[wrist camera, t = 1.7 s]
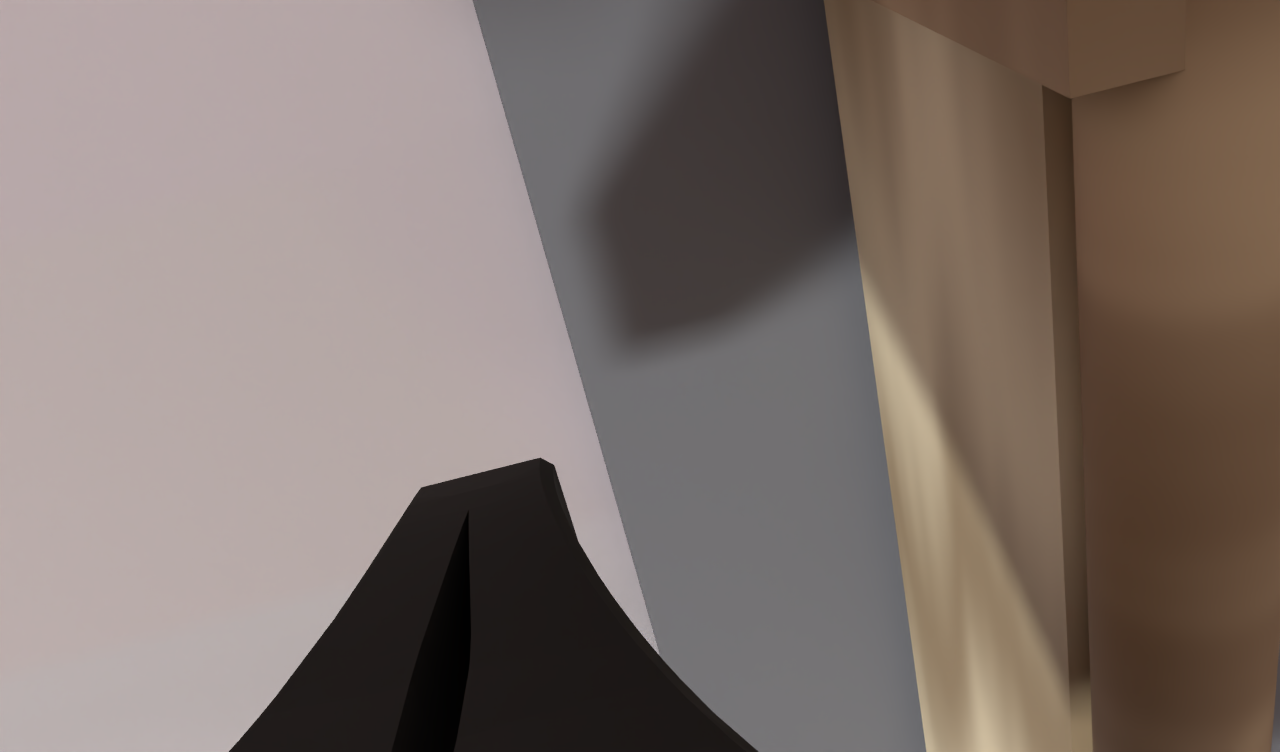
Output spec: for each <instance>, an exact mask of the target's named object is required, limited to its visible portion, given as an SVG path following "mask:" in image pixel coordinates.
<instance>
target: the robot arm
mask: <svg viewBox="0 0 1280 752" xmlns="http://www.w3.org/2000/svg"><path fill="white" fill-rule="evenodd" d="M229 752H758V751H757V750H756V749H755V748H754V747H753V746H752V745H750V744H749V743H748V742H747V741H746V740H745V739H744V738H742V737H741V736H740V735H739V734H738V733H737V732H735V731H734V730H733V729H732V728H731V727H730V726H729V725H727V724H726V723H725V722H724V721H723V720H722V719H721V718H719V717H718V716H717V715H716V714H715V713H714V712H713V711H712V710H711V709H710V708H709V707H708V706H707V705H706V704H705V703H704V702H703V701H702V700H701V699H700V698H699V697H698V696H697V695H696V694H695V693H694V692H693V691H692V690H691V689H690V688H689V687H688V686H687V685H686V684H685V683H684V682H683V681H682V680H681V679H680V678H679V677H678V676H677V675H676V673H675V672H674V671H673V670H672V669H671V668H670V667H669V666H668V665H667V664H666V662H665V661H664V660H663V659H662V658H661V657H660V656H659V655H658V654H657V652H656V651H655V650H654V649H653V648H652V647H651V645H650V644H649V643H648V642H647V641H646V639H645V638H644V637H643V636H642V634H641V633H640V632H639V631H638V629H637V628H636V627H635V626H634V624H633V623H632V622H631V621H630V619H629V618H628V616H627V615H626V614H625V612H624V611H623V610H622V608H621V607H620V606H619V604H618V603H617V602H616V600H615V599H614V598H613V596H612V595H611V593H610V592H609V590H608V589H607V587H606V586H605V584H604V583H603V581H602V580H601V579H600V577H599V576H598V574H597V572H596V571H595V569H594V567H593V566H592V564H591V562H590V561H589V559H588V557H587V556H586V554H585V552H584V550H583V549H582V547H581V545H580V544H579V542H578V540H577V536H576V533H575V530H574V527H573V524H572V520H571V517H570V514H569V511H568V508H567V505H566V501H565V498H564V495H563V492H562V489H561V485H560V482H559V479H558V476H557V473H556V470H555V466H554V465H553V464H551V463H549V462H547V461H545V460H544V459H542V458H537V459H533V460H529V461H525V462H521V463H517V464H513V465H509V466H505V467H501V468H497V469H493V470H489V471H485V472H481V473H477V474H473V475H469V476H465V477H461V478H457V479H453V480H449V481H445V482H442V483H438V484H434V485H430V486H426V487H422V488H421V489H420V490H419V491H418V493H417V494H416V496H415V497H414V499H413V500H412V502H411V503H410V505H409V506H408V508H407V509H406V511H405V512H404V514H403V516H402V517H401V519H400V520H399V522H398V523H397V525H396V526H395V528H394V529H393V531H392V533H391V534H390V536H389V537H388V539H387V540H386V542H385V543H384V545H383V547H382V548H381V550H380V551H379V553H378V554H377V556H376V557H375V559H374V560H373V562H372V564H371V565H370V567H369V568H368V570H367V571H366V573H365V574H364V576H363V577H362V579H361V580H360V582H359V583H358V585H357V586H356V588H355V589H354V591H353V592H352V594H351V595H350V597H349V598H348V600H347V601H346V603H345V604H344V605H343V607H342V608H341V610H340V611H339V613H338V614H337V616H336V617H335V619H334V620H333V622H332V623H331V624H330V626H329V627H328V628H327V630H326V631H325V632H324V633H323V635H322V636H321V637H320V639H319V640H318V641H317V643H316V644H315V645H314V647H313V648H312V649H311V651H310V652H309V653H308V655H307V656H306V657H305V659H304V660H303V661H302V663H301V664H300V665H299V667H298V668H297V669H296V671H295V672H294V673H293V675H292V676H291V677H290V679H289V680H288V681H287V683H286V684H285V685H284V686H283V688H282V689H281V690H280V692H279V693H278V694H277V696H276V697H275V698H274V699H273V701H272V702H271V703H270V704H269V706H268V707H267V708H266V709H265V710H264V712H263V713H262V714H261V715H260V717H259V718H258V719H257V720H256V721H255V722H254V724H253V725H252V726H251V727H250V728H249V729H248V731H247V732H246V733H245V734H244V735H243V736H242V738H241V739H240V740H239V741H238V742H237V743H236V744H235V745H234V747H233V748H232V749H231V750H230V751H229Z"/></svg>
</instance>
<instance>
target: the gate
mask: <svg viewBox="0 0 1280 752" xmlns="http://www.w3.org/2000/svg"><path fill="white" fill-rule="evenodd" d="M824 6H825V13H826V20H827V28H828V35H829V42H830V50H831V57H832V64H833V72H834V79H835V86H836V93H837V101H838V108H839V115H840V123H841V130H842V137H843V145H844V152H845V159H846V167H847V174H848V181H849V189H850V196H851V203H852V211H853V218H854V225H855V233H856V240H857V247H858V254H859V262H860V269H861V276H862V284H863V291H864V298H865V306H866V313H867V320H868V328H869V335H870V342H871V350H872V357H873V364H874V372H875V379H876V386H877V394H878V401H879V408H880V416H881V423H882V430H883V437H884V445H885V452H886V459H887V467H888V474H889V481H890V489H891V496H892V503H893V511H894V518H895V525H896V533H897V540H898V547H899V555H900V562H901V569H902V577H903V584H904V591H905V598H906V606H907V613H908V620H909V628H910V635H911V642H912V650H913V657H914V664H915V672H916V679H917V686H918V694H919V701H920V708H921V716H922V723H923V730H924V738H925V745H926V752H1271V745H1272V732H1273V720H1274V707H1275V694H1276V682H1277V669H1278V657H1279V644H1280V0H824Z"/></svg>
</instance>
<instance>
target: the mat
mask: <svg viewBox="0 0 1280 752" xmlns="http://www.w3.org/2000/svg"><path fill="white" fill-rule="evenodd" d="M473 3H474V7H475V10H476V14H477V17H478V20H479V24H480V27H481V31H482V34H483V38H484V41H485V45H486V48H487V52H488V55H489V59H490V62H491V66H492V69H493V73H494V76H495V80H496V83H497V87H498V90H499V94H500V97H501V101H502V104H503V108H504V111H505V115H506V118H507V122H508V125H509V129H510V132H511V136H512V139H513V143H514V146H515V150H516V153H517V157H518V160H519V164H520V167H521V171H522V174H523V178H524V181H525V185H526V188H527V192H528V195H529V199H530V202H531V206H532V209H533V213H534V216H535V220H536V223H537V227H538V230H539V234H540V237H541V241H542V244H543V248H544V251H545V255H546V258H547V261H548V265H549V268H550V272H551V275H552V279H553V282H554V286H555V289H556V293H557V296H558V300H559V303H560V307H561V310H562V314H563V317H564V321H565V324H566V328H567V331H568V335H569V338H570V342H571V345H572V349H573V352H574V356H575V359H576V363H577V366H578V370H579V373H580V377H581V380H582V384H583V387H584V391H585V394H586V398H587V401H588V405H589V408H590V412H591V415H592V419H593V422H594V426H595V429H596V433H597V436H598V440H599V443H600V447H601V450H602V454H603V457H604V461H605V464H606V468H607V471H608V475H609V478H610V482H611V485H612V489H613V492H614V496H615V499H616V503H617V506H618V509H619V513H620V516H621V520H622V523H623V527H624V530H625V534H626V537H627V541H628V544H629V548H630V551H631V555H632V558H633V562H634V565H635V569H636V572H637V576H638V579H639V583H640V586H641V590H642V593H643V597H644V600H645V604H646V607H647V611H648V614H649V618H650V621H651V625H652V628H653V632H654V635H655V639H656V642H657V646H658V649H659V653H660V656H661V658H662V659H663V660H664V661H665V662H666V664H667V665H668V666H669V667H670V668H671V669H672V670H673V671H674V672H675V673H676V675H677V676H678V677H679V678H680V679H681V680H682V681H683V682H684V683H685V684H686V685H687V686H688V687H689V688H690V689H691V690H692V691H693V692H694V693H695V694H696V695H697V696H698V697H699V698H700V699H701V700H702V701H703V702H704V703H705V704H706V705H707V706H708V707H709V708H710V709H711V710H712V711H713V712H714V713H715V714H716V715H717V716H718V717H719V718H721V719H722V720H723V721H724V722H725V723H726V724H727V725H729V726H730V727H731V728H732V729H733V730H734V731H735V732H737V733H738V734H739V735H740V736H741V737H742V738H744V739H745V740H746V741H747V742H748V743H749V744H750V745H752V746H753V747H754V748H755V749H756V750H757V751H758V752H926V745H925V738H924V730H923V723H922V716H921V708H920V701H919V694H918V686H917V679H916V672H915V664H914V657H913V650H912V642H911V635H910V628H909V620H908V613H907V606H906V598H905V591H904V584H903V577H902V569H901V562H900V555H899V547H898V540H897V533H896V525H895V518H894V511H893V503H892V496H891V489H890V481H889V474H888V467H887V459H886V452H885V445H884V437H883V430H882V423H881V416H880V408H879V401H878V394H877V386H876V379H875V372H874V364H873V357H872V350H871V342H870V335H869V328H868V320H867V313H866V306H865V298H864V291H863V284H862V276H861V269H860V262H859V254H858V247H857V240H856V233H855V225H854V218H853V211H852V203H851V196H850V189H849V181H848V174H847V167H846V159H845V152H844V145H843V137H842V130H841V123H840V115H839V108H838V101H837V93H836V86H835V79H834V72H833V64H832V57H831V50H830V42H829V35H828V28H827V20H826V13H825V6H824V0H473ZM1271 752H1280V644H1279V657H1278V669H1277V682H1276V694H1275V707H1274V720H1273V732H1272V745H1271Z"/></svg>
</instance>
